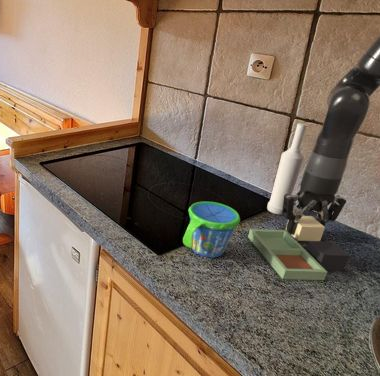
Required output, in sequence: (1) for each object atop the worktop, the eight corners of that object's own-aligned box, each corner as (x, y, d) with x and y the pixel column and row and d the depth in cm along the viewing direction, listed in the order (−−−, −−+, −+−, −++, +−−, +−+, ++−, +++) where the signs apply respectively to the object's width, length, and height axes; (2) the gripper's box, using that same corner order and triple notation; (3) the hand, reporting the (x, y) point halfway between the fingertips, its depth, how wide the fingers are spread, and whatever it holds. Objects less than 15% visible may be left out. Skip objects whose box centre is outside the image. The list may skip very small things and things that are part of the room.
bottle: (263, 205, 116) (286, 121, 105) (281, 206, 116) (307, 121, 105) (271, 214, 111) (297, 126, 101) (290, 215, 111) (318, 127, 101)
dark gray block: (328, 256, 93) (333, 241, 92) (343, 270, 88) (349, 255, 87) (303, 255, 94) (308, 240, 92) (318, 270, 88) (323, 254, 87)
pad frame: (283, 237, 100) (285, 230, 99) (324, 280, 85) (327, 271, 84) (247, 236, 100) (249, 229, 100) (282, 279, 85) (285, 270, 84)
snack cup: (197, 270, 87) (206, 230, 83) (164, 246, 96) (171, 208, 92) (248, 253, 94) (258, 215, 89) (212, 232, 102) (221, 196, 98)
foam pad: (307, 229, 104) (311, 216, 103) (320, 241, 99) (325, 227, 98) (285, 229, 104) (289, 215, 103) (297, 240, 99) (302, 226, 98)
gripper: (301, 177, 91) (281, 240, 98) (366, 178, 91) (341, 242, 98) (284, 164, 98) (267, 225, 105) (344, 166, 98) (322, 226, 105)
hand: (303, 233), depth 102 cm, fingers closed on foam pad, 5 cm apart
